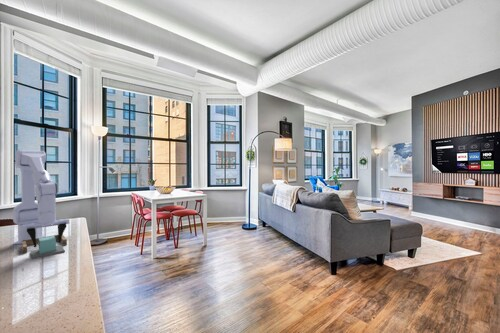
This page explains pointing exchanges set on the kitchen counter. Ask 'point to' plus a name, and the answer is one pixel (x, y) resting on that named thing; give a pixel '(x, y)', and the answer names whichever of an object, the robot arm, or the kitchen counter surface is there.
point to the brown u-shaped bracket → (30, 242)
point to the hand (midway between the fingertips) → (47, 244)
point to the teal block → (47, 244)
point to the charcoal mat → (37, 254)
